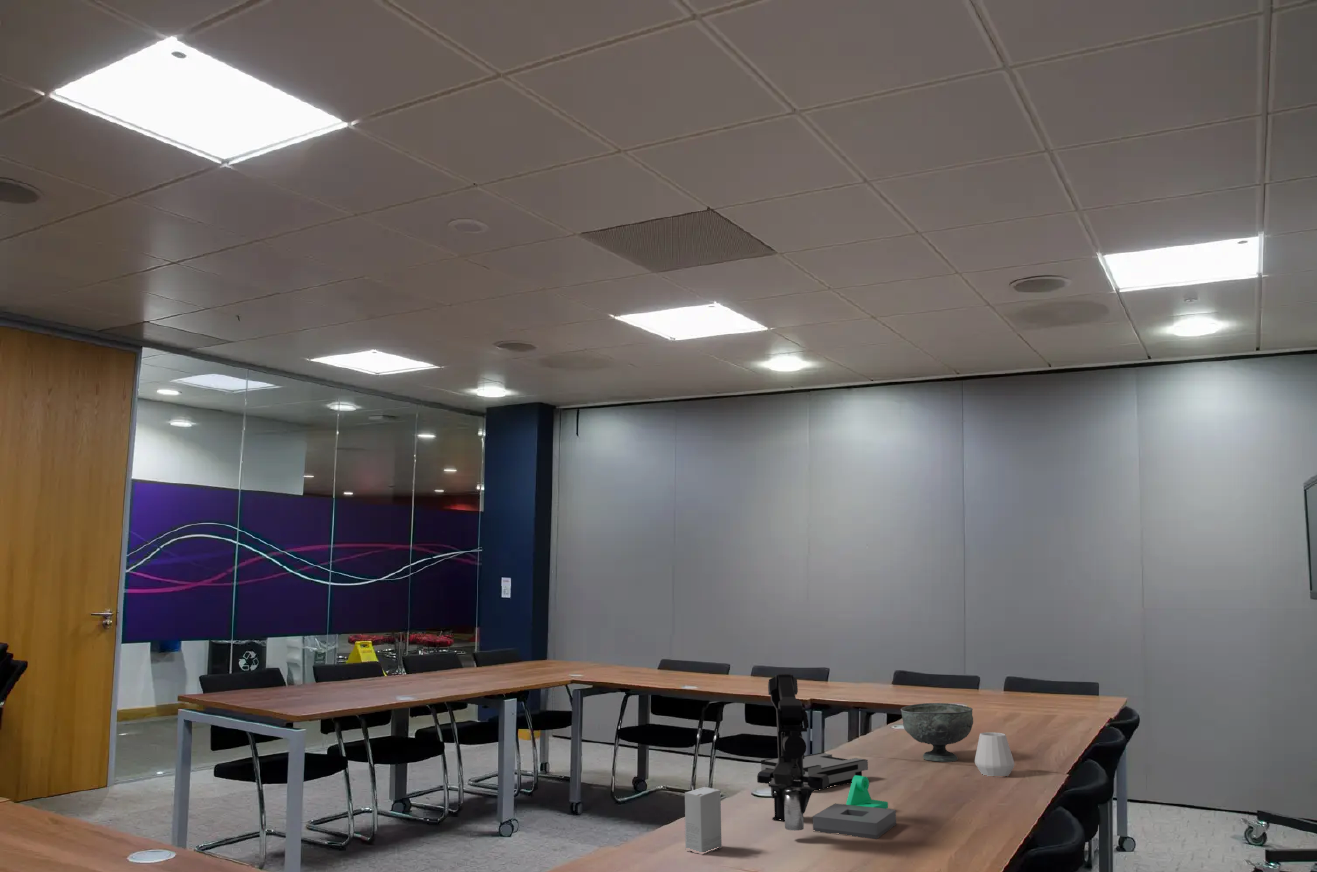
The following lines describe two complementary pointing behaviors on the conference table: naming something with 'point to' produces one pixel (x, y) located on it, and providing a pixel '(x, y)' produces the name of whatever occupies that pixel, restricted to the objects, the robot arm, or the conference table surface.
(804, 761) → the game console
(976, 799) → the conference table surface
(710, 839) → the skincare box
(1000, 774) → the white faceted vase
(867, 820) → the mount block
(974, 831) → the conference table surface
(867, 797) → the camera mount
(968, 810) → the conference table surface
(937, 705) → the decorative bowl
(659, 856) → the conference table surface
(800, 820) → the tube
